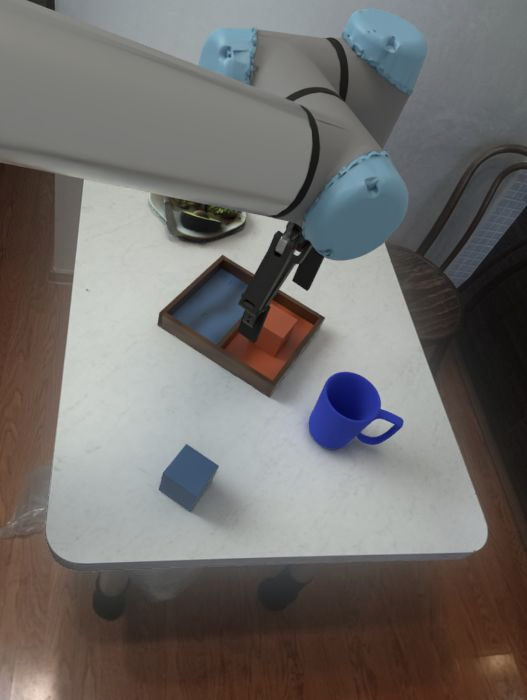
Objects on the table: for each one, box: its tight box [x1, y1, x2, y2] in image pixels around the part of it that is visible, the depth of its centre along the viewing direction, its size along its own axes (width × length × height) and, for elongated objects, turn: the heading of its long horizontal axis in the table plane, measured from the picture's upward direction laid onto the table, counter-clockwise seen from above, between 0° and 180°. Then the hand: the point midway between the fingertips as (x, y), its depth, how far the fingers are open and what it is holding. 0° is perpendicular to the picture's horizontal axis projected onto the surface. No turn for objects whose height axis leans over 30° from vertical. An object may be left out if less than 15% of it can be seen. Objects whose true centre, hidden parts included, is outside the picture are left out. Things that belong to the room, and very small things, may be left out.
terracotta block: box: [249, 304, 298, 358], centre depth 85 cm, size 5×5×5 cm
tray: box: [157, 254, 326, 398], centre depth 87 cm, size 21×18×3 cm
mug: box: [308, 371, 404, 450], centre depth 77 cm, size 8×12×10 cm
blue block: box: [158, 443, 219, 513], centre depth 68 cm, size 5×5×5 cm
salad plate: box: [148, 193, 247, 243], centre depth 102 cm, size 19×18×5 cm
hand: (275, 309), depth 73 cm, fingers open, 13 cm apart
